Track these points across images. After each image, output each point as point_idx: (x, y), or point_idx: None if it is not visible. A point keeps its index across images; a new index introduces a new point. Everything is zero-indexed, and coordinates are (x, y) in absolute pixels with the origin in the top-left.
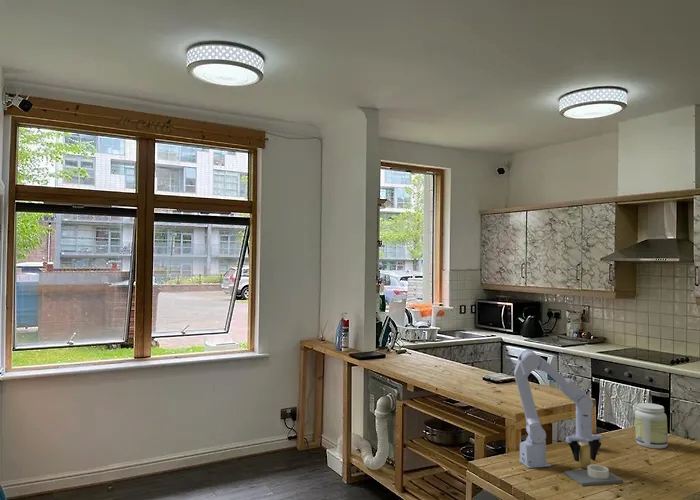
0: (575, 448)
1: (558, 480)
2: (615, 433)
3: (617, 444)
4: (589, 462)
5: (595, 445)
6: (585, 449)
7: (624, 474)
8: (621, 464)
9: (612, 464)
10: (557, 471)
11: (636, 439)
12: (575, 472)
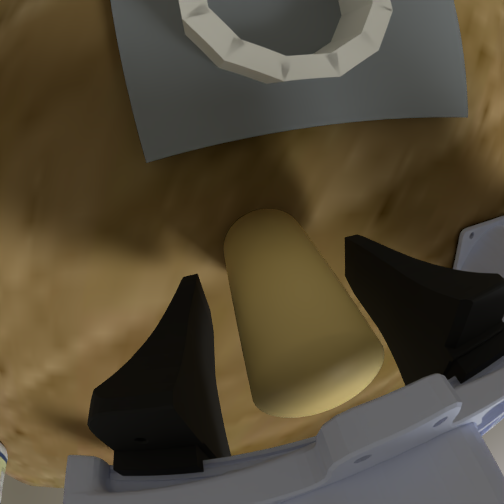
0: (475, 273)
1: (499, 45)
2: (63, 483)
3: (49, 452)
4: (250, 237)
5: (183, 385)
6: (338, 311)
7: (17, 112)
8: (11, 300)
9: (55, 299)
10: (466, 159)
11: (2, 454)
12: (424, 80)
